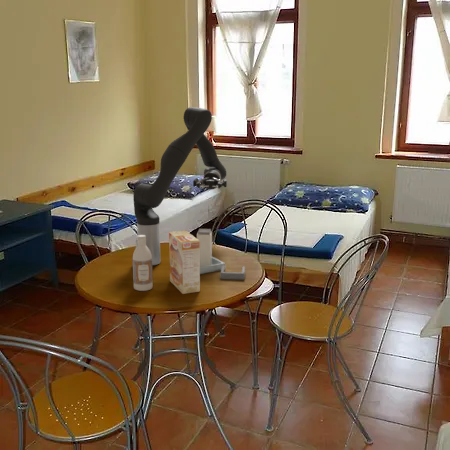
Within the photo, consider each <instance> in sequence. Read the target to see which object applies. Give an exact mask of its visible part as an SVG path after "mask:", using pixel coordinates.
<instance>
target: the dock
mask: <svg viewBox="0 0 450 450" xmlns="http://www.w3.org/2000/svg"><path fill="white" fill-rule="evenodd" d="M241 269H242V270H241V272H233V271H231V272H229V271H225V270H226V265H225V266H222V268H221V270H220V280H241V281H242V280H245V276H246V266H244V265H243V266H242V268H241Z"/></svg>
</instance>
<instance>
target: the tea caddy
mask: <svg viewBox="0 0 450 450" xmlns="http://www.w3.org/2000/svg"><path fill="white" fill-rule="evenodd" d="M196 238H197V239H198V240H199V241H200V267H203V266H208V265H212V257H213V231H212V229H211V228H199V229H198V231H197V233H196Z"/></svg>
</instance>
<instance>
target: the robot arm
mask: <svg viewBox="0 0 450 450" xmlns="http://www.w3.org/2000/svg"><path fill="white" fill-rule="evenodd" d="M212 116H213V114H212V112H211V111H210V110H209V109H206V108H202V107H196V106H189V107H187V108H186V109H185V111H184V112H183V122H184V125H185V127H186V129H187V131H186V132H184V134H182V135H180V136H179V137H177V138H175V139H174V140H173V141H172V142H170V144H168V146H167V147H166V149H165V151H164V152H163V153H162V156H161V157H160V158H161V159H160V170H159V174H158V177H157V178H156V179H155V181H154V182H153V183H152V184H148V183H139V184H137V186H136V187H135V189H134V191H133V199H132V200H133V210H134V216H135V219H136V227H137V228H136V230H137V232H136V233H137V236H138V235H145V236H146V246H147V247H148V249H149V250H150V252H151V255H152V266H156V265H158V264H159V265H160V264H161V232H160V230H161V229H160V228H161V227H160V216H159V214H157V213H156V212H155V210H154V209H155V208H157V207H159V206H160V205H161V203H162V202H163V200H164V198H165V197H166V195H167V193H168V190H169V189H170V186H171V184H172V183H173V181H174V179H175V177H176V176H177V174H178V173H179V171H180V170H181V168H182V167H183V165H184V163H185V162H186V161H187V159H188V157H189V155H190V154H191V152H192V150H193V149H194V147H195V146H196V147H197V149H198V151H199V153H200V156H201V159H202V163H203V165H204V166H205V167H206V168H205V169H204V170H203V177H202V178H200V180H199V178H194V179H193V180H192V183H193V185H192V186H193V187H196V188H197V189H200V188H206V189H209V190H215V189H221V188H223V187H224V188H227V183H228V181H227V170H226V168H225V166H224V165H223V164H222V162H221V161H220V158H219V157H218V155H217V151H216V149H215V147H214V146H215V145H214V144H213V143H212V141H210V140H209V137H207V136H206V134H205V133H206V132H207V130H208V128H209V127H210V125H211V123H212V120H213V117H212ZM137 246H138V239H137V240H135V249H136V248H137Z"/></svg>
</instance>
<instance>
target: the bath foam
mask: <svg viewBox="0 0 450 450" xmlns="http://www.w3.org/2000/svg"><path fill="white" fill-rule="evenodd" d="M136 239H137V240H138V246H137V248H136V247H135V249H134V251H133V254H132V278H133V289H134V290H136V291H138V292H139V291H140V292H147V291H149V290H151V289H153V286H154V285H153V283H154V282H153V265H152V255H151V252H150V250H149V249H148V247H147V246H146V236H145V235H137V238H136Z"/></svg>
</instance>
